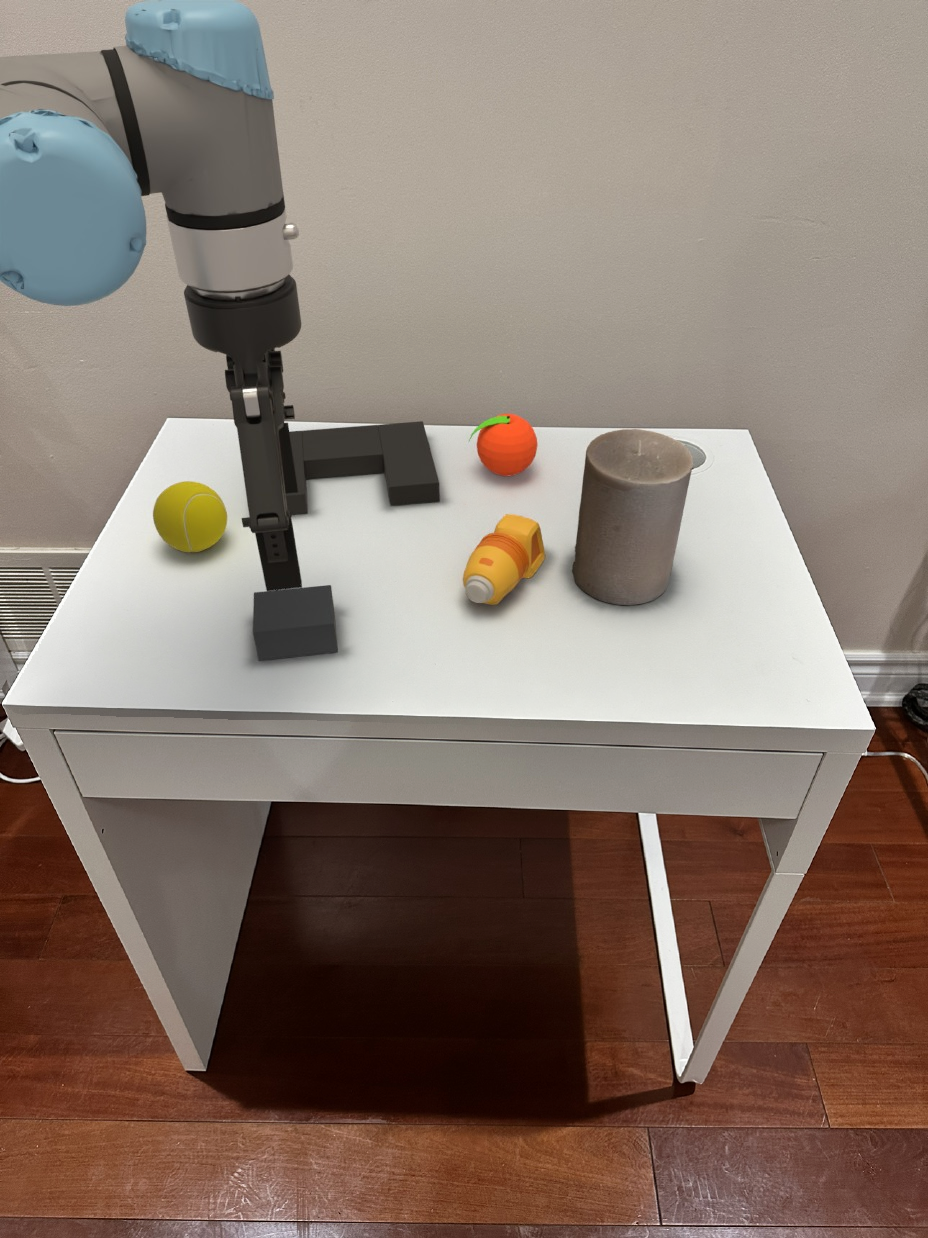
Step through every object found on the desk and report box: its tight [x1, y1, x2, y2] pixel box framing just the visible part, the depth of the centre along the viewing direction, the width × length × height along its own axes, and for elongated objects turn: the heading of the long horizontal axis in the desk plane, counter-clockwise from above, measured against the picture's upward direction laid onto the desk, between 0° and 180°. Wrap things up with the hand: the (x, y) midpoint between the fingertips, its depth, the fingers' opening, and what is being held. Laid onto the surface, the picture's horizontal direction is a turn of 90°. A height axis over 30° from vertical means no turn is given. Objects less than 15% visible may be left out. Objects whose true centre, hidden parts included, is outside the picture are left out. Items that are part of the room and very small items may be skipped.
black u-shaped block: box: [286, 420, 440, 516], centre depth 101 cm, size 20×14×2 cm
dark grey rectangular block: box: [252, 584, 339, 661], centre depth 79 cm, size 7×6×4 cm
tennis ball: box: [152, 480, 228, 553], centre depth 89 cm, size 7×7×7 cm
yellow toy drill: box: [462, 513, 546, 606], centre depth 85 cm, size 5×6×12 cm
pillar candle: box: [571, 428, 695, 606], centre depth 83 cm, size 10×10×15 cm
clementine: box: [468, 413, 538, 477], centre depth 100 cm, size 8×7×7 cm
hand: (283, 536), depth 73 cm, fingers open, 13 cm apart
